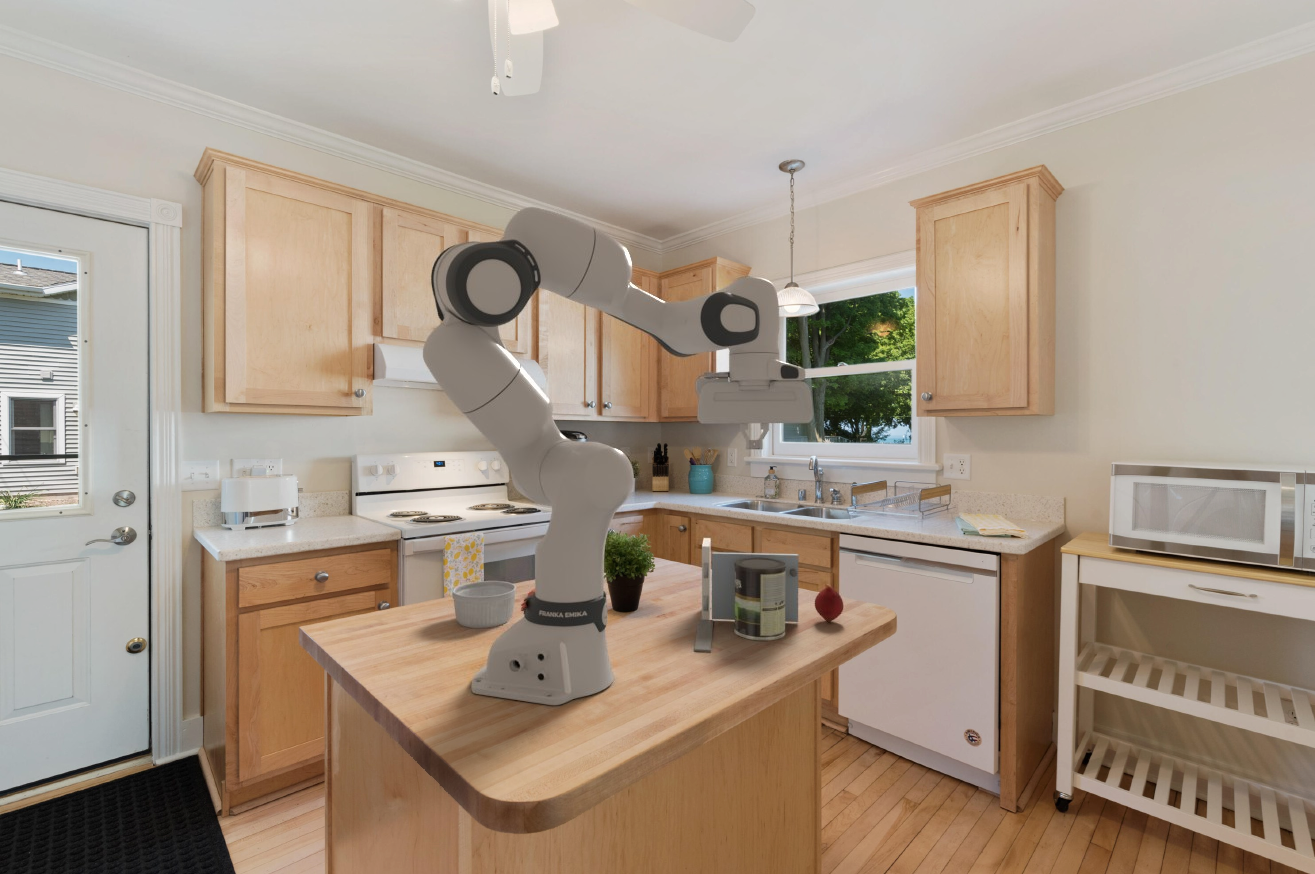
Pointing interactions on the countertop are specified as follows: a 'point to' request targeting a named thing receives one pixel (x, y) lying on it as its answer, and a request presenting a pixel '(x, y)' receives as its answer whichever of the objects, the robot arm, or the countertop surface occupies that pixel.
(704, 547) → the door frame
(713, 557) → the door
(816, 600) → the onion
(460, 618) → the ramekin
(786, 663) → the countertop surface
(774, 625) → the coffee can
